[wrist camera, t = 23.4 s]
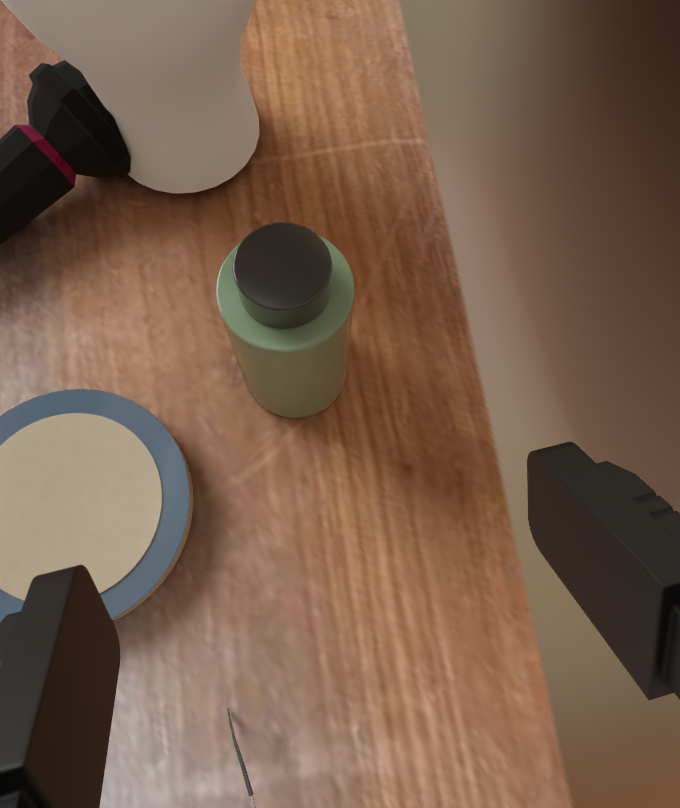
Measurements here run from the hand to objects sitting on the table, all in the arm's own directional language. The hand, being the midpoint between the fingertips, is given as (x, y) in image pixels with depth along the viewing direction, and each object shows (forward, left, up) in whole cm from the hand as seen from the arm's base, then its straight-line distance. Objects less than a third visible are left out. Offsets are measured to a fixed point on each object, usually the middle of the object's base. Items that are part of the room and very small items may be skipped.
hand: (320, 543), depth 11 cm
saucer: (-8, +7, -16) cm, 19 cm away
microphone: (-7, +22, -16) cm, 28 cm away
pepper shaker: (+3, +9, -16) cm, 18 cm away
